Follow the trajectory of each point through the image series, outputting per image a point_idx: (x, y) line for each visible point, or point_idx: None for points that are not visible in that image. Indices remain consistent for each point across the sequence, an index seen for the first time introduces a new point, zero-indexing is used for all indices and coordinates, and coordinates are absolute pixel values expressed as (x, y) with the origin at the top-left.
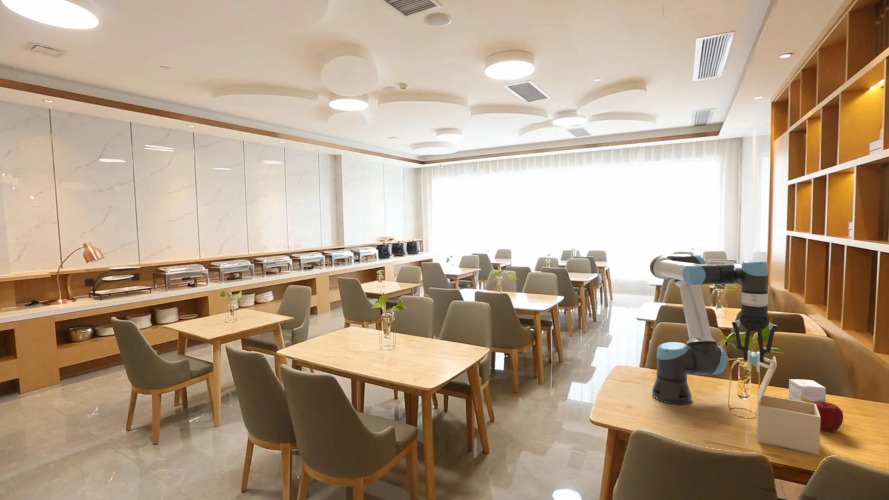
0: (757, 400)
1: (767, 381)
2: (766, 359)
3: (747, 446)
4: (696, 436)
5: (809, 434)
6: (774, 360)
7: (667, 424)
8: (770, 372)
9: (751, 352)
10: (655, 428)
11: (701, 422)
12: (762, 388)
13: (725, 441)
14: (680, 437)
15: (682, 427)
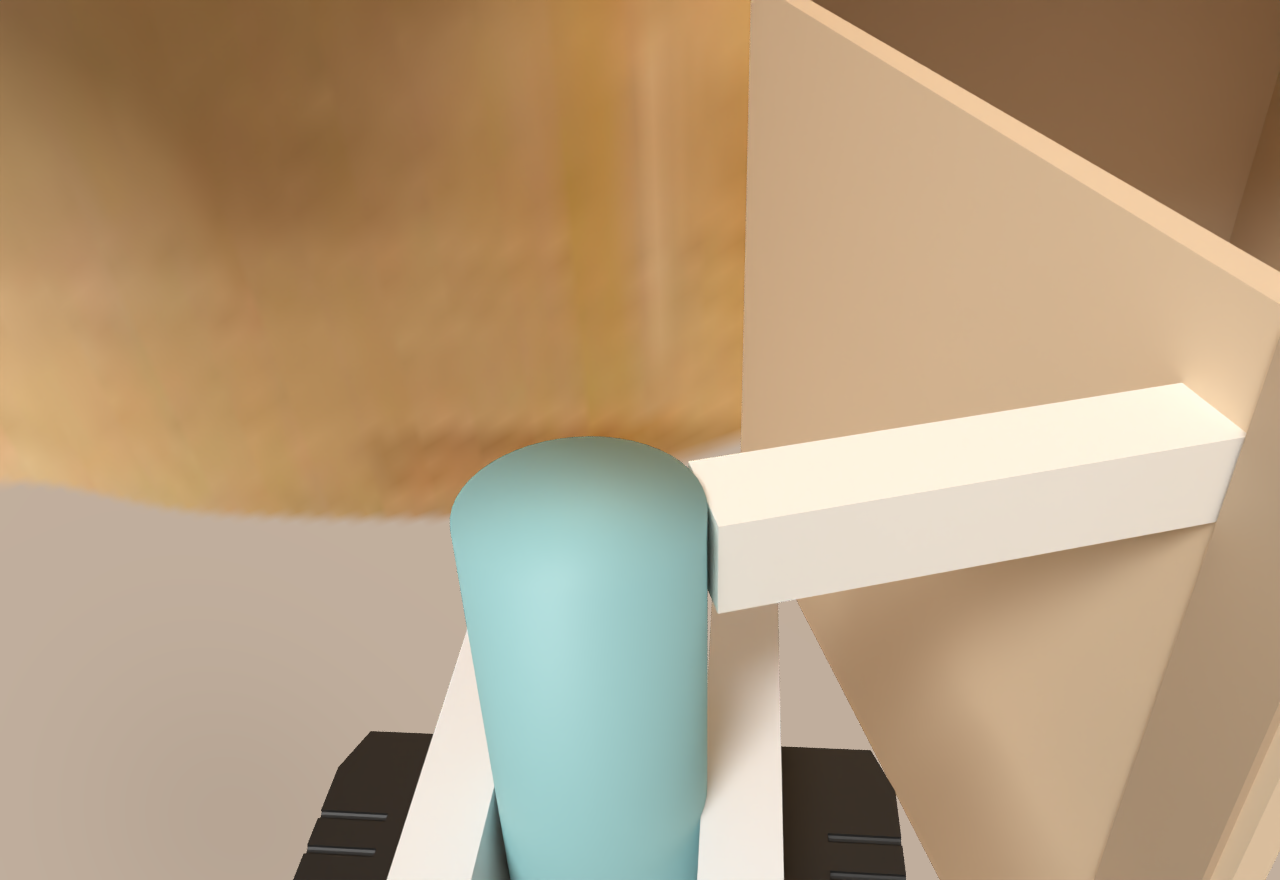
0: (743, 368)
1: (887, 730)
2: (1026, 537)
3: (672, 386)
4: (301, 415)
5: None
6: (1216, 877)
7: (28, 315)
8: (982, 776)
9: (489, 636)
10: (6, 438)
11: (231, 82)
12: (816, 435)
13: (509, 386)
14: (216, 489)
15: (148, 306)
